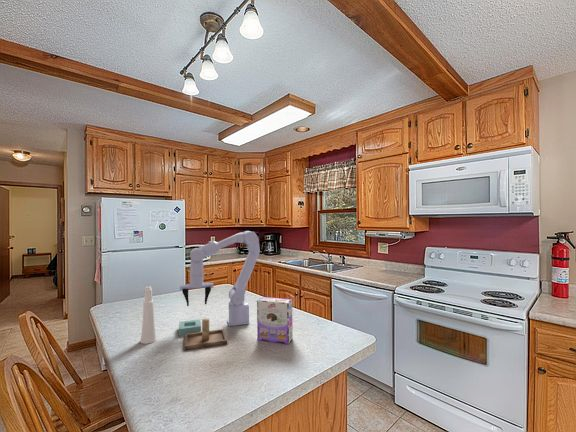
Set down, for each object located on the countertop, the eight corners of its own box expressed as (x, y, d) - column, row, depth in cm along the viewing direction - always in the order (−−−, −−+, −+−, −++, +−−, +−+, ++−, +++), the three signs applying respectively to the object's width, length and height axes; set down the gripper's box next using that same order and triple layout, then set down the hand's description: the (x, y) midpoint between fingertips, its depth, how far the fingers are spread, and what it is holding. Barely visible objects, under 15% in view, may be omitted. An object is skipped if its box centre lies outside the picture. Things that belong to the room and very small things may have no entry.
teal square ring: (200, 325, 131) (200, 319, 131) (201, 333, 123) (200, 326, 123) (179, 328, 128) (179, 321, 128) (178, 336, 120) (178, 329, 120)
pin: (207, 337, 117) (207, 317, 117) (210, 339, 115) (210, 319, 115) (200, 339, 115) (201, 319, 115) (203, 341, 113) (203, 321, 113)
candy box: (293, 338, 117) (293, 298, 117) (288, 344, 111) (288, 303, 112) (262, 334, 122) (262, 296, 122) (256, 340, 116) (256, 299, 116)
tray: (224, 332, 123) (224, 328, 123) (227, 344, 112) (227, 340, 112) (184, 337, 118) (184, 333, 118) (184, 350, 107) (184, 346, 107)
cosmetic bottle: (138, 344, 112) (138, 289, 112) (142, 338, 118) (142, 285, 118) (155, 343, 113) (155, 288, 113) (157, 336, 119) (157, 284, 119)
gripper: (212, 272, 135) (212, 300, 135) (180, 274, 131) (180, 303, 131) (213, 275, 129) (213, 304, 129) (179, 277, 124) (179, 308, 124)
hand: (196, 304), depth 129 cm, fingers open, 7 cm apart
